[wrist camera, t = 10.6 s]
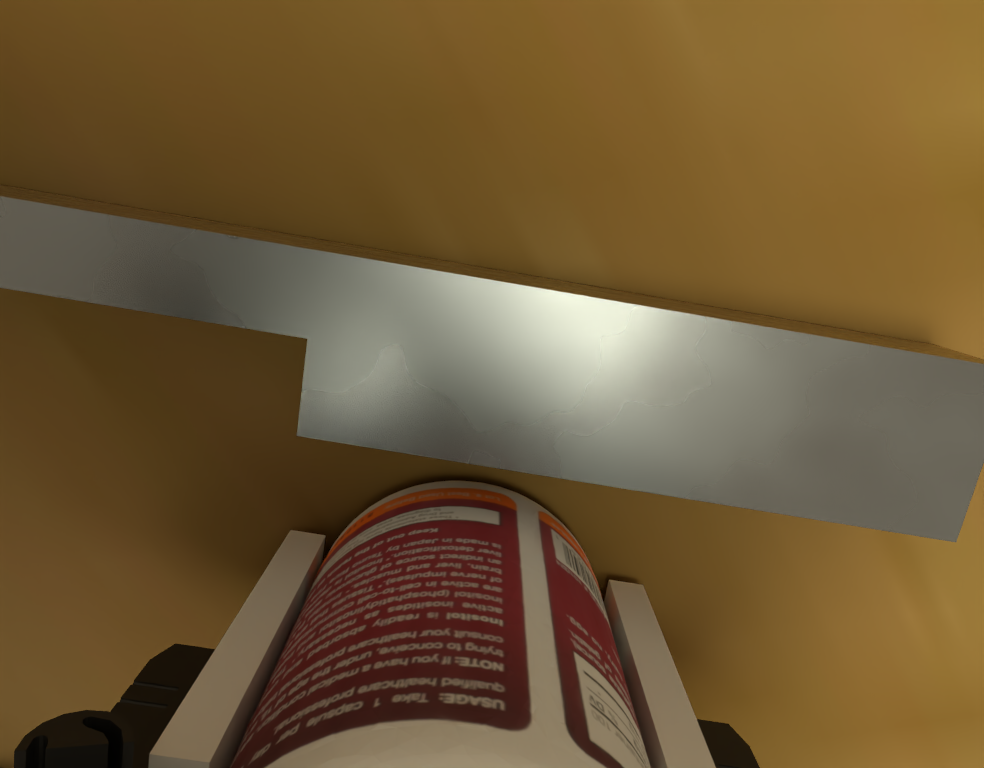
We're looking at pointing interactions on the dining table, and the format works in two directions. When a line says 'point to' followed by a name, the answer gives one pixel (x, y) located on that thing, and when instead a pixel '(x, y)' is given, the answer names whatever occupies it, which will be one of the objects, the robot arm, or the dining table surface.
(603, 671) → the pill bottle
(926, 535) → the grey u-shaped frame
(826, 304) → the dining table surface
